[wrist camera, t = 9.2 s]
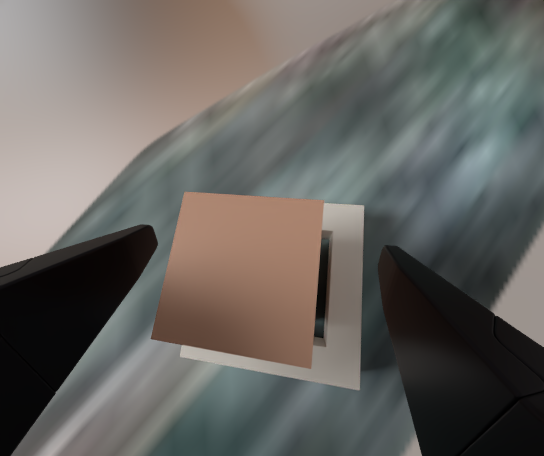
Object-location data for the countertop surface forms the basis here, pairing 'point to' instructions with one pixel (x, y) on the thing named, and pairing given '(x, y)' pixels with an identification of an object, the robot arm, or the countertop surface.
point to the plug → (243, 277)
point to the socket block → (338, 311)
